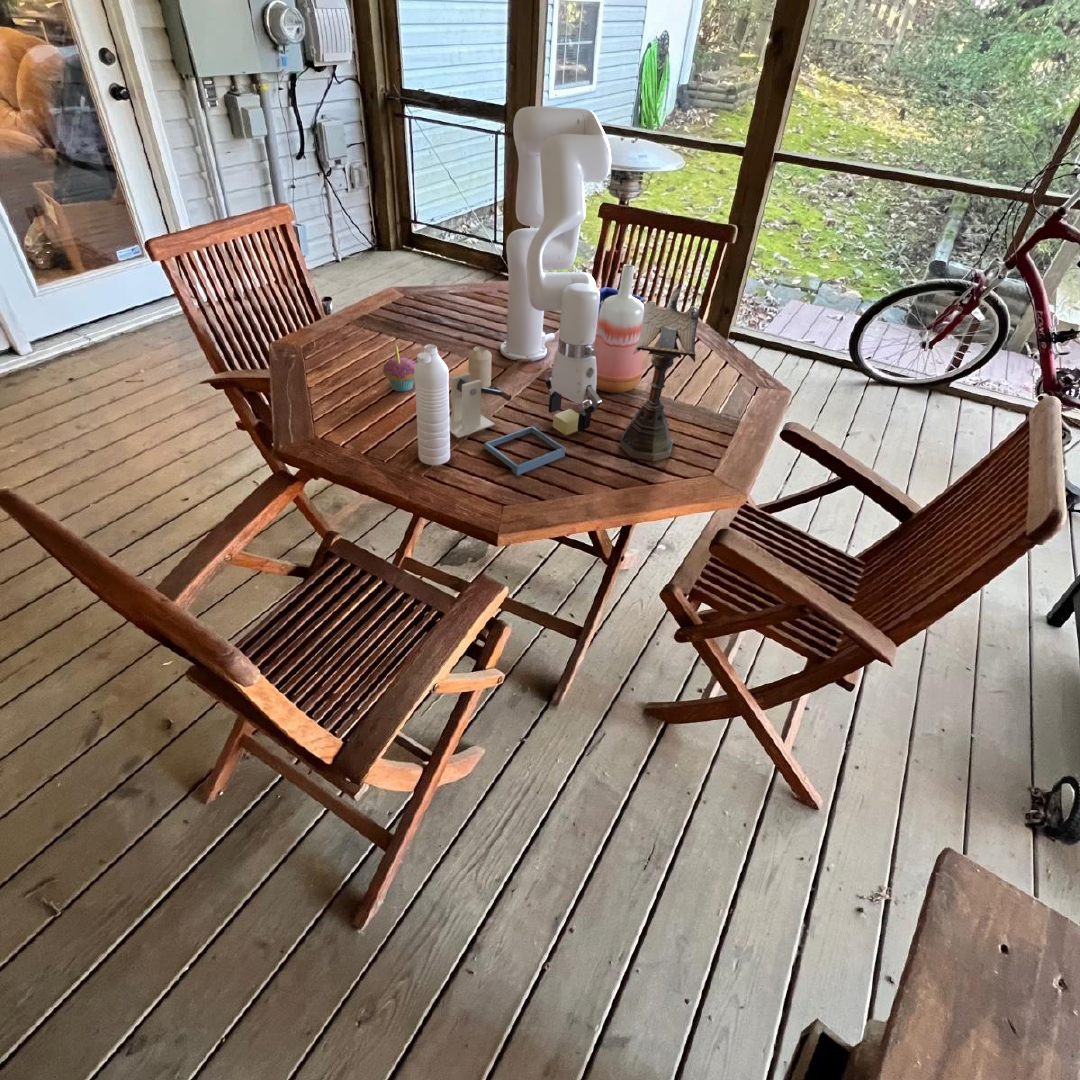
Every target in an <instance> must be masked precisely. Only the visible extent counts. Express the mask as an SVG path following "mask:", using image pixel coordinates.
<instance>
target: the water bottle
mask: <svg viewBox="0 0 1080 1080" xmlns="http://www.w3.org/2000/svg"><path fill="white" fill-rule="evenodd" d="M416 361H417V362H416V364H417V365H416V367H415V371H414V378H415V380H414V386H415V387H414V390H415V391H414V393H415V412H416V413H415V415H416V424H417V425H416V431H417V449H418V453H417V454H418V460H419V461H420V462H422V463H423V464H425V465H428V466H429V465H431V466H439V465H444V464H445V463H447V462H448V461H450V459H451V441H450V440H451V432H450V426H449V422H450V420H449V417H450V390H449V389H450V386H449V385H450V382H449V381H450V379H449V378H450V375H449V373H450V372H449V367H448V365H447V364H446V362H445V361H444V360H443V359H442V357H441V356H440V355H439V349H438V347H437V345H436V344H431V343H428V344H425V345H424V348H423V352H419V353H417V354H416Z"/></svg>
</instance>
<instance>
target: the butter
mask: <svg viewBox="0 0 1080 1080" xmlns="http://www.w3.org/2000/svg"><path fill="white" fill-rule="evenodd" d="M579 414H580V413H578V412H577V411H575V410H573V409H571V408H568V409H566V410H563V411H560V412H556V413H554V414H553V416H552V417H553V418H552V428H553V429H555V430H557V431H558V432H560V434H563V435H564V436H567V435H568V436H569V435H570V434H574V433H575V432H578V431H579V430H578V429H577V428H578V419H579Z"/></svg>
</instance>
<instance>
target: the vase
mask: <svg viewBox="0 0 1080 1080" xmlns="http://www.w3.org/2000/svg"><path fill="white" fill-rule="evenodd" d="M634 274H635V266H634V265H633V264H623V265H622V270H621V276H620V283H619V288H618V290H619V292H618V294H617V295H613V296H610V297H608V298H606V299H605V300H604V301H602V302H601V303H602V305H601V309H600V312H599V316H598V319H597V327H596V336H595V345H594V350H595V351H596V354H595V355H594V356H595V357H596V365H597V382H596V390H599V391H602V392H604V393H605V392H606V393H612V394H613V393H614V394H619V393H621V394H622V393H626V392H630V391H632V390H633V389H635V388H636V387H637V386H638V385H639V384H640V382H641V380H642V374H643V362H644V361H643V360H644V350H640V351H639V352H637V353H635V354H634V355H633V353H634V351H635V349H636V346H637V343H638V341H639V337H640V333H641V328H642V321H643V313H644V306H645V305H644V303H643V304H642V303H641V302H640V301H639V300H638V299H636V298H634V297H632V295H631V294H632V291H633V290H632V288H633V282H634Z"/></svg>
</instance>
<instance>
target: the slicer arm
mask: <svg viewBox="0 0 1080 1080" xmlns="http://www.w3.org/2000/svg"><path fill="white" fill-rule="evenodd" d="M468 382H471V381H470V380H465V379H460V380H459V383H458V386H457V390H459V391H460V392H462V384H465V383H468ZM481 394H487V395H494V396H499V397H501V398H502V399H504V400H505V401H507V402H509V401H511V400H512V395H511V394H509V392H507V391H506V390H504V389H502V388H500V387H499V386H497V385H496V386H494V387H493V388H490V387H488V388H485V387H481Z"/></svg>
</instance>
